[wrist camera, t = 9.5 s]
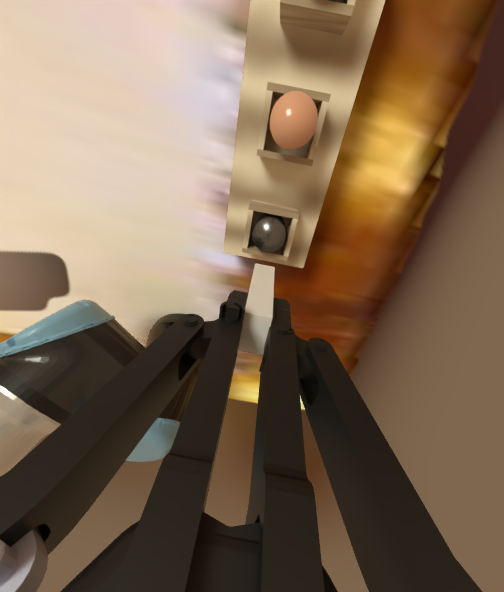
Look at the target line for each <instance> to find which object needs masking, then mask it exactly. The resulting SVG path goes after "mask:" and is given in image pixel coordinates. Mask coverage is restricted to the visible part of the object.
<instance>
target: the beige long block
mask: <svg viewBox="0 0 504 592" xmlns="http://www.w3.org/2000/svg"><path fill="white" fill-rule="evenodd" d="M384 3H385V0H336V1H335V2H334V1H328V0H251V3H250V12H249V21H248V30H247V39H246V48H245V58H244V67H243V76H242V85H241V94H240V104H239V113H238V122H237V131H236V140H235V150H234V159H233V168H232V177H231V186H230V195H229V205H228V214H227V223H226V232H225V241H224V251H223V253H228V254H233V255H238V256H243V257H248V258H253V259H258V260H263V261H268V262H273V263H279V264H284V265H289V266H294V267H299V268H303V267H304V264H305V261H306V257H307V254H308V251H309V248H310V244H311V241H312V238H313V235H314V231H315V228H316V225H317V222H318V218H319V215H320V212H321V209H322V205H323V202H324V199H325V195H326V192H327V189H328V186H329V182H330V179H331V176H332V173H333V169H334V166H335V163H336V160H337V156H338V153H339V150H340V147H341V143H342V140H343V137H344V134H345V130H346V127H347V124H348V121H349V117H350V114H351V111H352V107H353V104H354V101H355V98H356V94H357V91H358V88H359V85H360V81H361V78H362V75H363V72H364V68H365V65H366V62H367V59H368V55H369V52H370V49H371V46H372V42H373V39H374V36H375V33H376V29H377V26H378V23H379V19H380V16H381V13H382V10H383V6H384ZM291 91H301V92H304V93H306V94H307V95H309V96H310V97H311V99H312V100H313V101H314V103H315V106H316V109H317V114H318V120H317V126H316V130H315V132H314V134H313V136H312V137H311V139H310V140H309V141H308V142H307V143H306V144H305V145H303V146H302V147H300V148H298V149H295V150H285V149H282V148H281V147H279V146H278V145H277V144H276V142H275V141H274V139H273V136H272V134H271V130H270V116H271V112H272V109H273V107H274V105H275V103H276V102H277V101H278V99H279V98H280V97H282V96H283V95H284V94H286V93H288V92H291ZM264 213H268V214H273V215H279V216H281V217H282V218H283V220H284V222H285V232H286V239H285V242H284V244H283V246H282V247H281V248H280V249H279V250H277V251H275V252H263V251H261V250H259V249H258V248H257V247H256V246H255V244H254V242H253V238H252V234H253V230H254V227H255V224H256V222H257V219H258V218H259V217H260V216H261V215H262V214H264Z"/></svg>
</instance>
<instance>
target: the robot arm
mask: <svg viewBox="0 0 504 592" xmlns="http://www.w3.org/2000/svg"><path fill="white" fill-rule="evenodd" d="M274 272H275V267H272V266H267V265H262V264H257V263H255V267H254V271H253V276H252V280H251V285H250V289H249V293H245V292H240V291H235V290H234V291H233V292H231V293H230V294H229V297H228V300H227V302H224V303H222V304H221V306H220V314H219V319H217V320H215V321H206V322H204V320H203V318H202V317H200V316H199V315H195V314H170V315H166V316H164V317H162V318H160V319H159V320H158V321H157V322H156V323H155V325H154V326H153V327H152V329H151V330H150V333H149V335H148V340H147V344H146V348H145V347H143V346H142V345H141V344H140V343H139V342H138V341H137V340H136V339H135V338H134V337H133V336H132V335H131V334H130V333H129V332H128V331H127V330H126V329H124V328H123V327H122V326H121V325H120V324H119V323H118V322H117V321H116V320H115V317H114V316H111V315H110V314H108V313H107V312H106V311H105V310H104V309H102V308H101V307H100V306H99V305H98V304H97V303H95V302H93V301H90V300H81V301H77V302H75V303H73V304H71V305H69V306H67V307H65V308H63V309H61V310H59V311H58V312H56V313H54V314H52V315H50V316H48V317H46V318H45V319H43V320H41V321H39V322H37V323H35V324H34V325H32V326H30V327H28V328H26V329H25V330H23V331H21V332H19V333H18V334H16V335H14V336H12V337H11V338H9V339H7V340H5V341H3V342H1V343H0V592H36V591H37V589H38V588H39V586H40V584H41V582H42V580H43V578H44V575H45V573H46V570H47V564H48V554H49V553H50V552H51V551H53V549H54V548H56V546H57V545H58V544H59V543H60V542H61V541H62V540H63V539H64V538H65V537H66V535H68V534H69V533H70V531H71V530H72V529H73V528H74V527H75V526H76V524H77V523H78V522H79V521H80V519H81V518H82V517H83V516H84V514H85V513H86V512H87V511H88V510H89V508H90V507H91V506H92V504H93V503H94V502H95V500H96V499H97V498H98V496H99V495H100V494H101V492H102V491H103V490H104V488H105V487H106V486H107V484H108V483H109V482H110V480H111V479H112V478H113V476H114V475H115V474H116V472H117V471H118V470H119V468H120V467H121V466H122V464H123V463H124V462H125V460H127V461H136V462H147V461H154V460H158V459H161V458H164V459H163V462H162V464H161V466H160V469H159V472H158V474H157V477H156V479H155V482H154V485H153V487H152V490H151V493H150V495H149V498H148V500H147V503H146V505H145V508H144V511H143V513H142V516H141V519H140V521H138V522H136V523H135V524H133V525H132V526H130V527H129V528H128V529H126V530H125V531H124V532H123V533H121V534H120V536H118V537H117V538H116V539H115V540H114V541H113V542H112V543H111V544H110V545H109V546H108V547H107V548H106V549H105V550H103V552H102V553H100V554H99V555H98V556H97V557H96V558H95V559H94V560H93V561H92V562H91V563H90V564H89V565H88V566H87V567H86V568H85V569H84V570H83V571H82V572H80V573H79V574H78V575H77V576H76V577H75V578H74V579H73V580H72V581H71V582H70V583H69V584H68V585H67V586H66V587H65V588H64V589H63V590H62V591H61V592H338V591H337V590H336V588H335V586H334V584H333V582H332V580H331V578H330V577H329V575H328V573H327V572H326V570H325V569H324V567H323V566H322V562H321V554H320V544H319V533H318V524H317V514H316V503H315V495H314V489H313V486H312V483H311V482H310V481H309V480H308V478H307V475H306V465H305V453H304V441H303V428H302V417H301V404H300V396H301V399H302V402H303V405H304V407H305V410H306V413H307V416H308V419H309V422H310V425H311V428H312V431H313V434H314V436H315V440H316V442H317V445H318V448H319V451H320V454H321V457H322V460H323V463H324V466H325V469H326V471H327V474H328V477H329V480H330V483H331V486H332V489H333V492H334V495H335V498H336V501H337V504H338V507H339V510H340V512H341V515H342V518H343V521H344V524H345V527H346V530H347V533H348V536H349V539H350V542H351V545H352V547H353V550H354V553H355V556H356V559H357V562H358V564H359V567H360V570H361V572H362V575H363V577H364V580H365V583H366V585H367V588H368V590H369V592H482V591H481V589H480V588H479V587H478V586H477V585H476V583H475V582H474V581H473V580H472V578H471V577H470V576H469V575H468V574H467V572H466V571H465V570H464V569H463V567H462V566H461V565H460V564H459V562H458V561H457V560H456V559H455V558H454V556H453V554H452V553H451V551H450V549H449V547H448V546H447V544H446V542H445V540H444V539H443V537H442V535H441V533H440V532H439V530H438V528H437V527H436V525H435V524H434V522H433V520H432V518H431V516H430V514H429V513H428V511H427V509H426V508H425V506H424V504H423V502H422V501H421V499H420V497H419V496H418V494H417V492H416V490H415V489H414V487H413V485H412V483H411V482H410V480H409V478H408V477H407V475H406V473H405V471H404V470H403V468H402V466H401V465H400V463H399V461H398V459H397V458H396V456H395V454H394V452H393V451H392V449H391V448H390V446H389V444H388V442H387V441H386V439H385V437H384V435H383V434H382V432H381V430H380V428H379V427H378V425H377V423H376V421H375V420H374V418H373V416H372V415H371V413H370V411H369V410H368V408H367V406H366V404H365V403H364V401H363V399H362V397H361V396H360V394H359V392H358V391H357V389H356V387H355V385H354V384H353V382H352V380H351V378H350V377H349V375H348V373H347V372H346V370H345V368H344V366H343V365H342V363H341V361H340V359H339V358H338V356H337V354H336V353H335V351H334V349H333V347H332V346H331V345H330V344H329V343H328V342H327V341H325V340H323V339H321V338H311V339H309V341H305V340H303V339H301V338H299V337H297V336H296V335H295V332H294V330H293V329H292V328H291V316H290V304H289V303H288V302H287V300H284V299H279V298H274V297H273V296H274ZM238 351H243V352H248V353H254V354H259V355H263V352H264V355H263V359H262V363H261V366H260V370H259V371H260V372H261V375H260V386H259V397H258V408H257V421H256V431H255V442H254V453H253V464H252V476H251V486H250V487H251V488H250V497H249V506H248V511H247V517H246V523H245V525H240V526H234V527H229V526H226V525H225V524H223V523H221V522H220V521H218V520H216V519H214V518H213V517H211V516H209V515H208V514H206V513H204V511H205V506H206V501H207V496H208V491H209V486H210V481H211V476H212V472H213V467H214V462H215V457H216V453H217V448H218V443H219V438H220V433H221V428H222V423H223V418H224V414H225V410H226V404H227V400H228V395H229V391H230V386H231V381H232V376H233V371H234V367H235V362H236V357H237V352H238ZM50 433H51V434H50ZM47 434H50V435H49V436H48V437H47V438H45V439H44V440H43V441H42V442H41V443H40V444H39V445H38V446H37V447H35V448H34V449H33V450H32V451H31V452H30V453H29V454H28V455H27V456H26V457H24V458H23V459H22V460H21V461H20V462H19V463H18V464H17V465H15V464H16V463H17V462H18V461H19V460H20V459H21V458H22V457H23V456H24V455H25V454H26V453H27V452H28V451H29V450H30V449H31V448H32V447H33V446H34V445H35V444H36V443H37V442H38V441H39V440H40V439H41V438H42V437H43V436H45V435H47ZM14 465H15V466H14ZM13 466H14V467H13ZM12 467H13V468H12ZM11 468H12V469H11ZM10 469H11V470H10ZM9 470H10V471H9Z"/></svg>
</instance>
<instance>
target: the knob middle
mask: <svg viewBox="0 0 504 592" xmlns="http://www.w3.org/2000/svg"><path fill="white" fill-rule="evenodd" d="M317 120H318V114H317V109H316V106H315V103H314V101H313V100H312V99H311V97H310V96H309V95H307V94H306V93H304V92H301V91H291V92H288V93H286V94H284V95H283V96H282V97H280V98H279V99H278V101H277V102H276V103H275V105H274V107H273V109H272V112H271V116H270V130H271V134H272V136H273V139H274V141H275V142H276V144H277V145H278V146H279V147H281V148H282V149H285V150H295V149H298V148H300V147H302V146H303V145H305V144H306V143H307V142H308V141H309V140H310V139H311V137H312V136H313V134H314V132H315V130H316V126H317Z"/></svg>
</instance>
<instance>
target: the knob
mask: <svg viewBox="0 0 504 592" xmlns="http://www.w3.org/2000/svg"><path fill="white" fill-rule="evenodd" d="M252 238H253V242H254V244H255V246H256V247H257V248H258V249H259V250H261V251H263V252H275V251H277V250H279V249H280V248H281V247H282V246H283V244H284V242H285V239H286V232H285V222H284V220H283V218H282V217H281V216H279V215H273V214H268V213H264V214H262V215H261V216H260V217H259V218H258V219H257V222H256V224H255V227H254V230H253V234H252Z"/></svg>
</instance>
